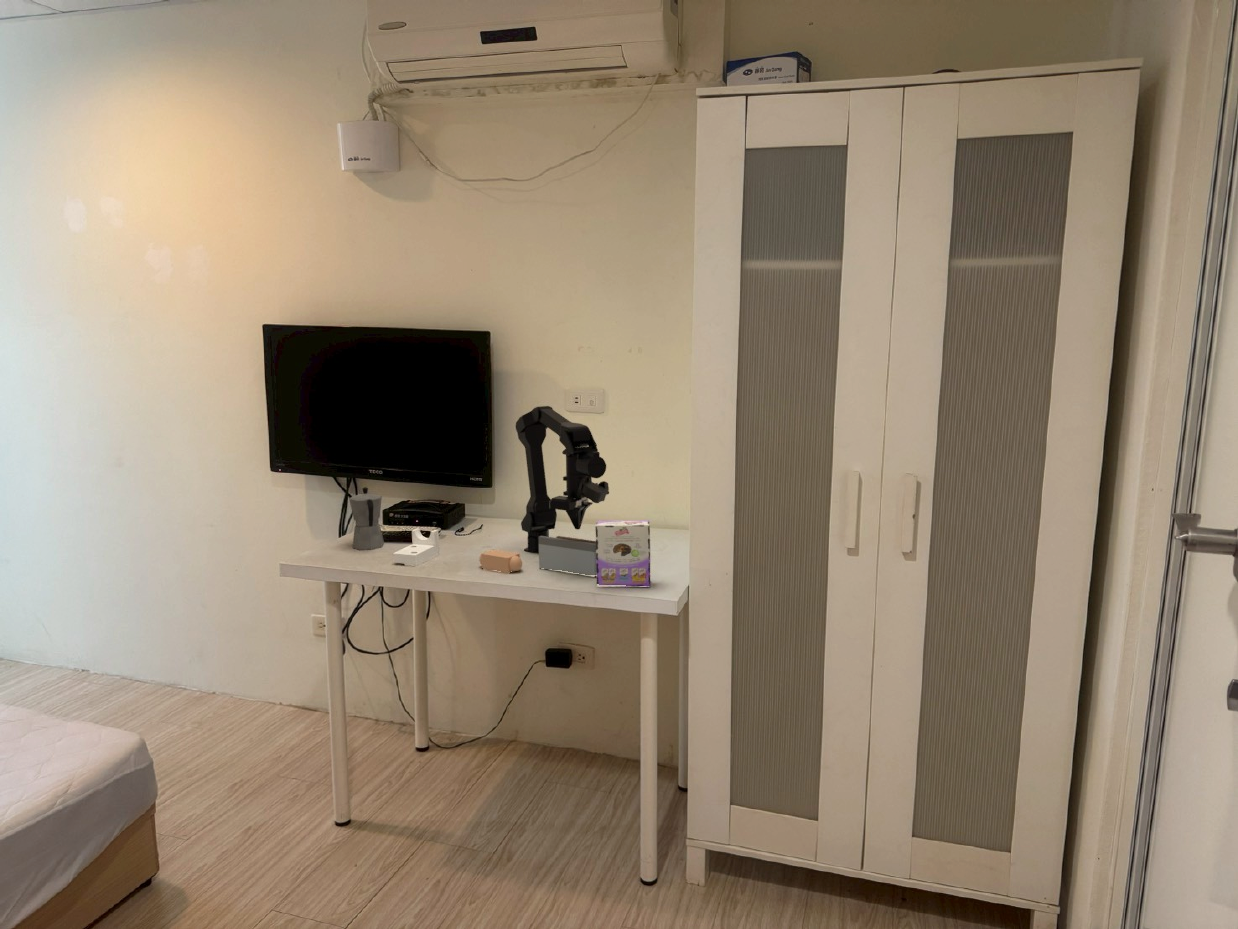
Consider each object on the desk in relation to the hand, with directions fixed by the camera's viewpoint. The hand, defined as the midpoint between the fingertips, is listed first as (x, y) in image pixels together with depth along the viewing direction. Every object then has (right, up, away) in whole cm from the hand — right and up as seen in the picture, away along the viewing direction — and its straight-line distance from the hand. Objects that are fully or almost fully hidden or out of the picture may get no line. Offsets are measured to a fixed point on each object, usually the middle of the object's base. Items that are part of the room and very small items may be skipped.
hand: (577, 529), depth 238 cm
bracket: (-46, -10, +11) cm, 49 cm away
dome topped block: (-21, -11, +1) cm, 24 cm away
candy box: (+12, -13, -13) cm, 22 cm away
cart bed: (0, -11, +2) cm, 11 cm away
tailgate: (-3, -12, -3) cm, 12 cm away
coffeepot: (-64, -7, +25) cm, 69 cm away
